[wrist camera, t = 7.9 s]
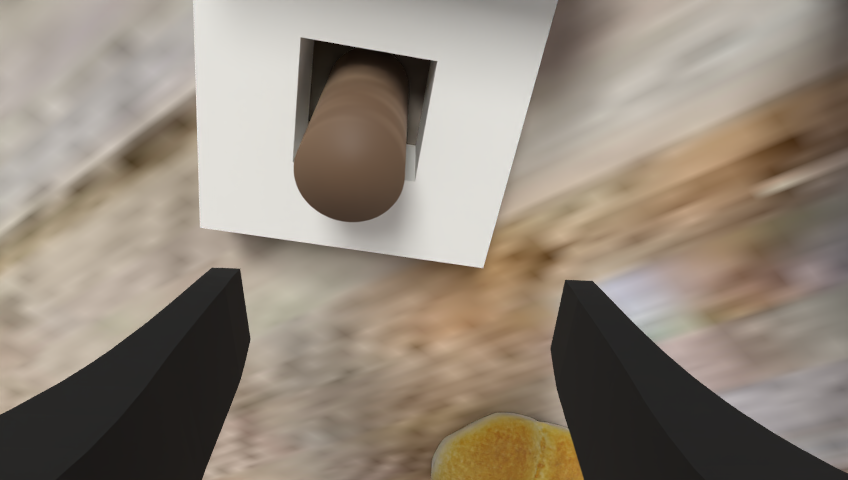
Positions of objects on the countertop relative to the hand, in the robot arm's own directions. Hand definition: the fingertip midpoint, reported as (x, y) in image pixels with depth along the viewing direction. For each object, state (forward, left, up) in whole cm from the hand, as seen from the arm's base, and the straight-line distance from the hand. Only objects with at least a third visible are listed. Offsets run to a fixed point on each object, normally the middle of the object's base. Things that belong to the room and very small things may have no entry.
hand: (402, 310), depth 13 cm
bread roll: (-9, +18, -11) cm, 22 cm away
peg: (+2, -2, -10) cm, 10 cm away
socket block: (+2, -2, -10) cm, 10 cm away
